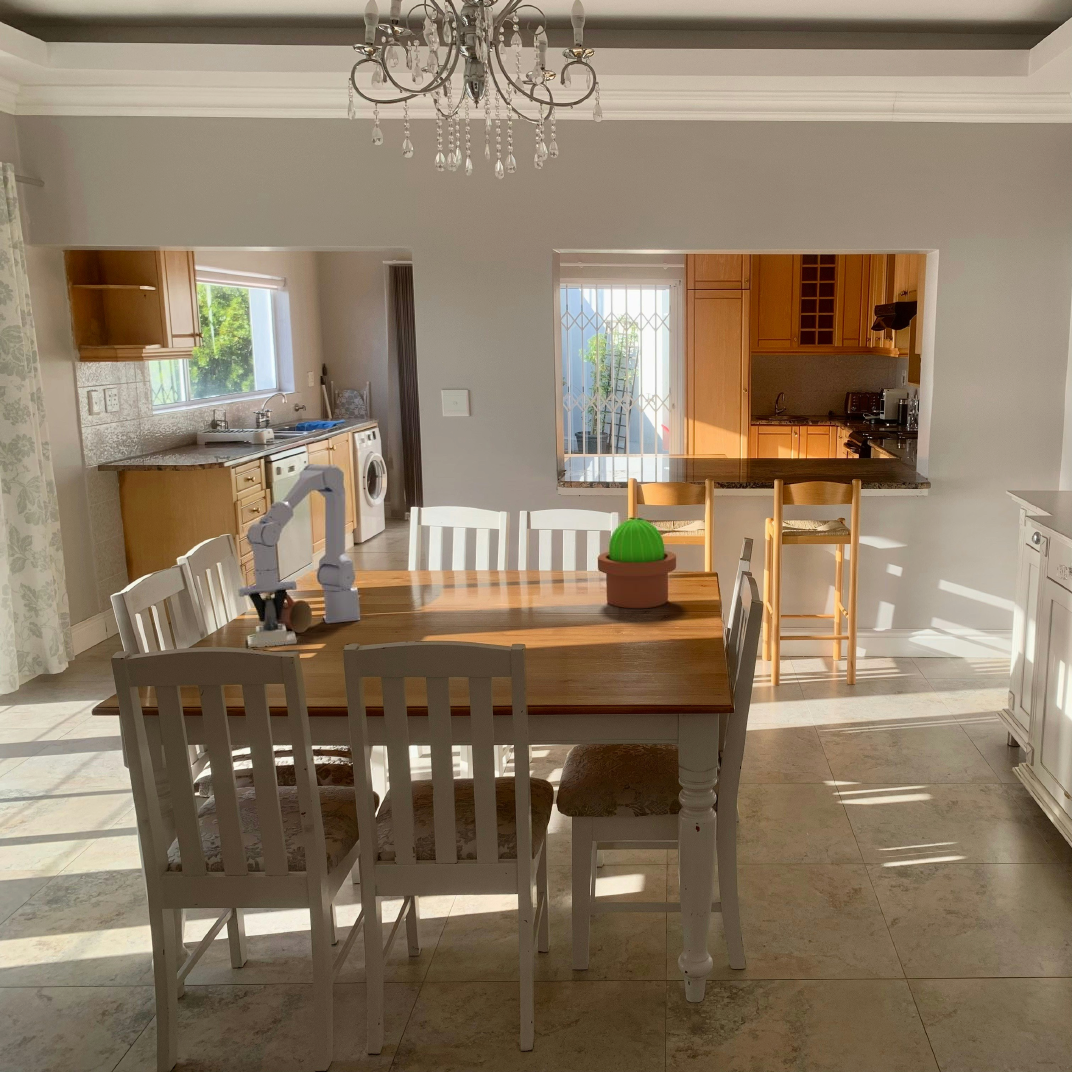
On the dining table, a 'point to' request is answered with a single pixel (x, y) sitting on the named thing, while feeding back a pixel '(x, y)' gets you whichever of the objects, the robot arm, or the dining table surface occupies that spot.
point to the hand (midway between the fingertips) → (270, 619)
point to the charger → (271, 637)
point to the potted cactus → (636, 566)
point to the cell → (269, 613)
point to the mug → (296, 615)
